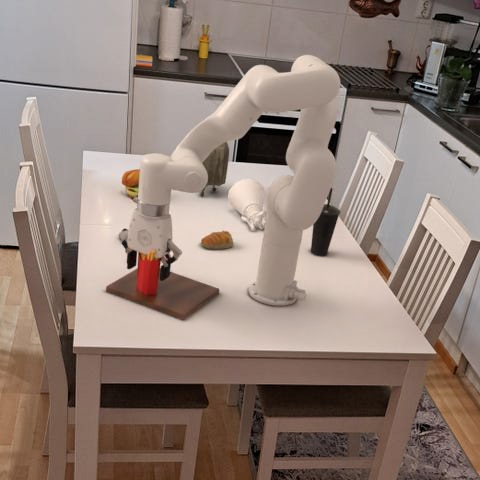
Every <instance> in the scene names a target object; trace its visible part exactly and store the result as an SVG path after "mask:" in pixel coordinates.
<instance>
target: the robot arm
mask: <svg viewBox="0 0 480 480" xmlns="http://www.w3.org/2000/svg"><path fill="white" fill-rule="evenodd" d="M340 89H341V78H340V76H339V74H338V72H337V71H336V70H335V69H334V68H333V67H332V66H331V65H329V64H327V62H325V61H324V60H322V59H321V58H319V57H317V56H314V55H313V54H304V55H301V56H298V57H297V58H296V59H295V60H294V62H293V63H292V65H291V68H290V71H287V72H286V71H285V72H278V71H277V70H276V69H274V68H273V67H272V66H269V65H266V64H256V65H254V66H253V67H251V68H250V69H248V71H247V72H246V73H245V74H244V75H243V77H242V78H241V79H240V80H239V82H237V84H236V85H235V86H234V88H232V90H231V91H230V93H229V94H228V95H227V96H226V97H225V98H224V100H223V101H222V102H221V103H220V105H219V106H218V107H217V108H216V109H215V111H214V112H213V113H211V114H210V115H209V116H207V117H206V118H205V119H203V120H202V121H201V122H199V123H198V124H196V125H195V126H194V127H193V128H192V129H191V130H190V131H189V132H188V133H187V134H186V135H185V136H184V138H183V139H182V140H181V142H180V143H179V144H178V145H177V146H176V148H175V149H174V150H173V151H172V154H171V156H169V155H167V154H163V153H157V152H152V153H146V154H144V155H143V156H142V157H141V159H140V165H139V169H140V177H139V190H138V197H134V199H133V203H136V207H135V208H134V209H133V211H132V214H131V217H130V221H129V227H128V230H126V231H122V230H121V231H120V232H119V233H118V234H119V235H118V237H119V236H120V238H119V239H120V241H121V245H122V247H123V248H124V252H125V254H126V269H127V270H132V269H133V268H135V267H136V266H137V263H138V252H140V253H143V254H146V255H148V253H149V252H152V251H153V250H155V251H156V252H155V256H154V257H155V258H160V260H161V264H162V265H160V268H161V269H160V281H163V280H165V279H167V278H168V277H169V275H170V272H171V266H172V264H173V263H175V262H176V261H178V260H179V258H180V257H181V256H182V255H183V251H182V250H181V248H179V247H178V246H177V245H176V244H175V243H174V242H173V220H172V214H170V206H171V196H172V195H171V194H172V191H176V192H182V193H187V194H197V193H200V192H201V191H202V190H203V189H204V188H205V186H206V184H207V182H208V174H207V171H206V169H205V167H204V165H203V164H202V163H203V162H204V160H205V159H206V158H207V157H208V156H209V154H210V153H211V152H212V151H213V150H214V149H215V148H217V147H218V146H219V145H221V144H223V143H225V142H227V143H228V142H232V141H236V140H240V139H242V138H243V137H244V136H245V135H246V134H247V133H248V131H249V130H250V129H251V128H252V127H253V125H254V124H255V123H256V122H257V121H258V119H259V118H260V117H261V116H262V115H263V113H268V114H276V113H286V112H294V111H299V110H300V111H299V116H298V120H297V122H296V126H295V128H294V131H293V133H292V136H291V140H290V142H289V143H288V147H287V149H286V153H285V163H286V165H287V166H288V168H289V169H290V171H291V172H292V173H293V174H294V175H289V174H284V175H281V176H278V177H277V178H275V179H274V180H273V181H272V182H271V184H270V185H269V187H268V189H267V194H266V202H265V203H266V204H265V206H266V207H265V218H266V221H265V225H264V230H263V236H262V242H261V248H260V255H259V260H258V267H257V274H256V281H254V282H252V283H251V284H250V285H249V286H248V294H249V296H250V297H251V298H252V299H253V300H255V301H256V302H259V303H261V304H264V305H269V306H275V307H277V306H278V307H282V306H283V307H284V306H289V305H292V304H294V303H296V301H297V300H298V301H301V302H306V300H307V297H308V295H307V294H306V293H307V290H305V289H303V288H299V287H298V281H297V280H295V277H296V271H297V266H298V259H299V255H300V248H301V244H302V240H303V233H304V231H305V230H307V229H310V228H311V227H313V224H314V223H315V222H316V221H317V219H318V218H319V216H320V214H321V212H322V209H323V207H324V204H326V202H327V200H328V198H329V193H330V189H331V188H332V186H333V184H334V181H335V178H336V174H337V161H336V157H335V156H334V153H332V151H331V150H330V149H329V148H328V147H329V143H330V140H331V137H332V134H333V131H334V128H335V125H336V122H337V118H338V113H339V99H338V96H339V92H340ZM127 236H128V237H127ZM159 249H160V250H159ZM171 252H172V253H173V254H172V255H171V254H170V253H171Z"/></svg>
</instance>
